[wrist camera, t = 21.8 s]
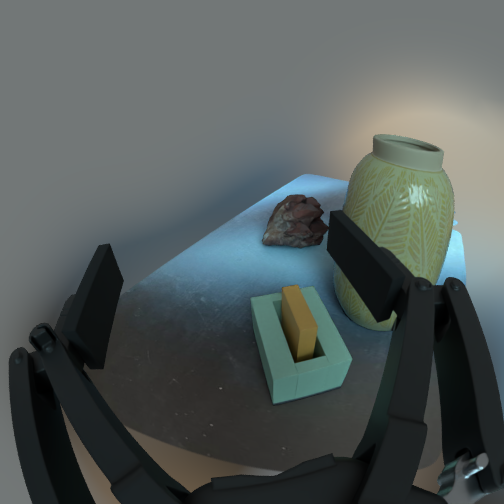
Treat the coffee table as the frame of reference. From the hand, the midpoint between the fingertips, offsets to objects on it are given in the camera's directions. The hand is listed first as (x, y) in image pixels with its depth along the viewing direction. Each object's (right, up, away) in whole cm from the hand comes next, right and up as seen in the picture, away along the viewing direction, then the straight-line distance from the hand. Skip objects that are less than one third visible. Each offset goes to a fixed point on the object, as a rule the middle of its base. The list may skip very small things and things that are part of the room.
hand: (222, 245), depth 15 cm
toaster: (+7, -15, +20) cm, 26 cm away
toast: (+7, -15, +19) cm, 25 cm away
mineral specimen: (+11, +1, +44) cm, 46 cm away
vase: (+23, -9, +27) cm, 37 cm away
